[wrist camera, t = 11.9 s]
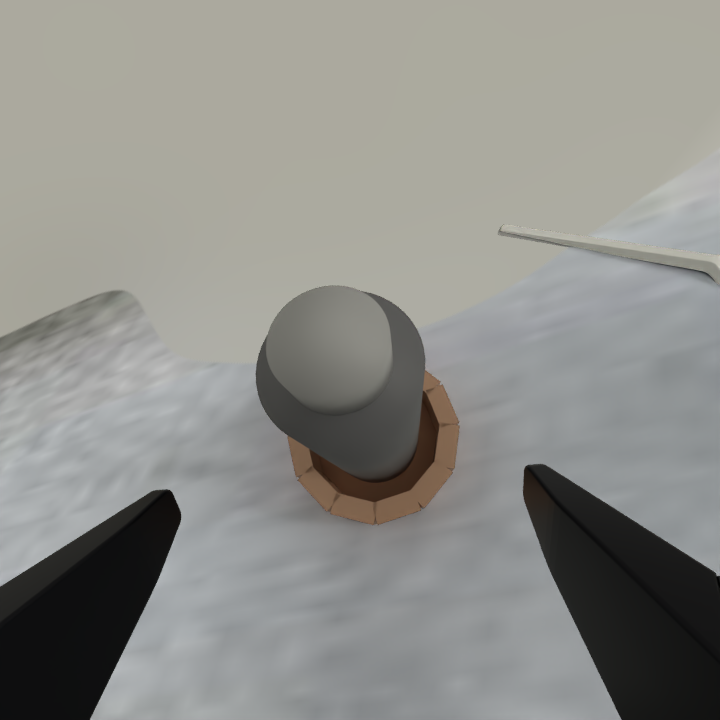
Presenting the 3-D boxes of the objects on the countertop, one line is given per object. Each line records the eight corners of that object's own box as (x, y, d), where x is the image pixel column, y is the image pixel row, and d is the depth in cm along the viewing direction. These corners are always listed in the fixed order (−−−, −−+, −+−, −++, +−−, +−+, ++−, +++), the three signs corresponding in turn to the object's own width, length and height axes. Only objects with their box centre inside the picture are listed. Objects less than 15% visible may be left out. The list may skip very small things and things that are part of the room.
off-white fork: (502, 219, 28) (507, 200, 26) (826, 273, 22) (860, 253, 20) (491, 250, 27) (496, 233, 25) (829, 315, 21) (865, 298, 19)
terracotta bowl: (382, 558, 19) (377, 566, 16) (276, 446, 22) (257, 436, 19) (482, 433, 21) (493, 421, 18) (371, 347, 24) (366, 326, 21)
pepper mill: (350, 496, 19) (257, 472, 8) (322, 416, 22) (216, 299, 10) (432, 462, 20) (465, 386, 8) (396, 385, 22) (380, 234, 10)
